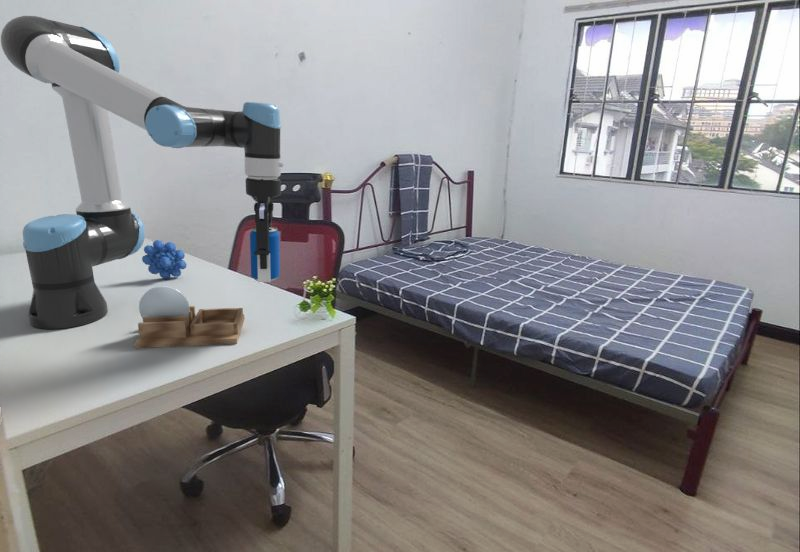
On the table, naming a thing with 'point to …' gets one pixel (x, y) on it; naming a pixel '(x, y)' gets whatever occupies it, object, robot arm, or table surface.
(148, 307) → the pale blue plate
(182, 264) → the blue bumpy lump
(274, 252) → the beverage can
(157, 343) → the wooden holder tray
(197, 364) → the table surface
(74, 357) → the table surface
